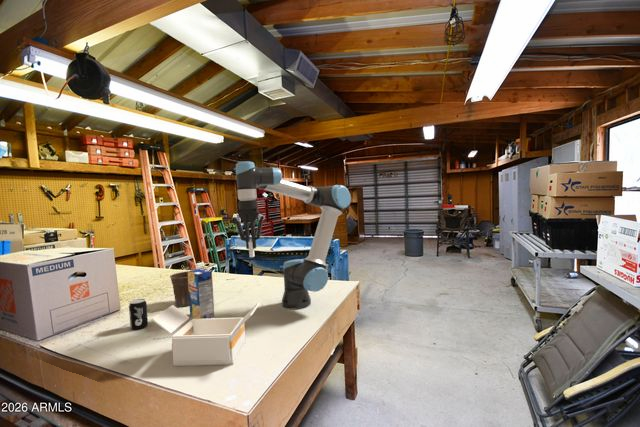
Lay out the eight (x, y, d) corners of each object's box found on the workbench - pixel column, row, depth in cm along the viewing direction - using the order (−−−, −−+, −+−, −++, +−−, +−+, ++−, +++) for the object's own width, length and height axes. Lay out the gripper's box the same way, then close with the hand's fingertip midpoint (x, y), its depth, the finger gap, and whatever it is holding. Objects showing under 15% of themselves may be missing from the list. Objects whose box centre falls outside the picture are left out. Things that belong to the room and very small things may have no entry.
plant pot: (190, 296, 166) (189, 269, 165) (210, 299, 159) (208, 271, 158) (164, 306, 151) (163, 276, 150) (185, 310, 144) (183, 279, 143)
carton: (246, 342, 107) (244, 316, 107) (232, 366, 92) (230, 336, 91) (194, 343, 108) (192, 318, 107) (171, 367, 92) (170, 337, 92)
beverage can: (151, 324, 127) (149, 298, 127) (137, 331, 121) (135, 304, 120) (140, 323, 129) (139, 297, 129) (126, 329, 123) (125, 302, 123)
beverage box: (200, 321, 128) (197, 274, 127) (190, 316, 135) (187, 271, 135) (214, 317, 133) (212, 271, 132) (203, 311, 141) (201, 268, 140)
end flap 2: (245, 317, 105) (260, 302, 105) (234, 332, 93) (251, 315, 92) (244, 316, 105) (259, 301, 105) (233, 331, 93) (250, 314, 92)
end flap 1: (189, 317, 106) (172, 304, 106) (171, 333, 93) (152, 318, 93) (188, 318, 106) (171, 305, 106) (170, 334, 93) (151, 319, 93)
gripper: (265, 198, 119) (269, 253, 120) (234, 200, 118) (238, 255, 120) (261, 198, 111) (266, 257, 113) (229, 201, 111) (233, 259, 112)
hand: (252, 256), depth 116 cm, fingers closed
